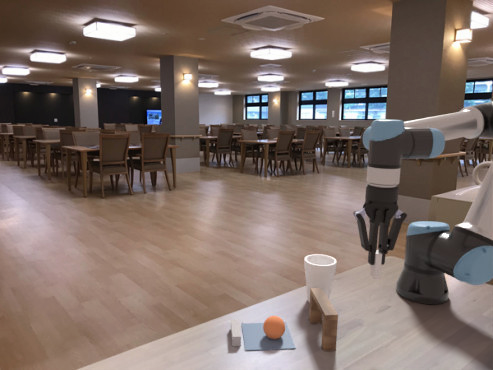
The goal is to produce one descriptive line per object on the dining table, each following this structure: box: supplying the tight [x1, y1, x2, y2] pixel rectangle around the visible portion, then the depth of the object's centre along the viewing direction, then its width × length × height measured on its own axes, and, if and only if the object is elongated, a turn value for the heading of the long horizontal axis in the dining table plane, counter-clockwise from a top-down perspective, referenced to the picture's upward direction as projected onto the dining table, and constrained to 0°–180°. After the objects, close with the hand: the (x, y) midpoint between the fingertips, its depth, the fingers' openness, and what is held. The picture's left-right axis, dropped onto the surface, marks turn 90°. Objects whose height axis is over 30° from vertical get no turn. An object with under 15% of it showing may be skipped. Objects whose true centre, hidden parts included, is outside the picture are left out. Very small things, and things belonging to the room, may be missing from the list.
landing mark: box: [241, 321, 296, 352], centre depth 102 cm, size 12×12×1 cm
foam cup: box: [303, 253, 338, 304], centre depth 120 cm, size 10×9×13 cm
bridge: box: [308, 288, 339, 352], centre depth 103 cm, size 3×14×9 cm, turn 5°
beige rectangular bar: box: [230, 319, 242, 347], centre depth 101 cm, size 2×8×2 cm, turn 5°
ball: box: [263, 315, 285, 339], centre depth 101 cm, size 6×6×6 cm
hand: (375, 276), depth 102 cm, fingers closed
